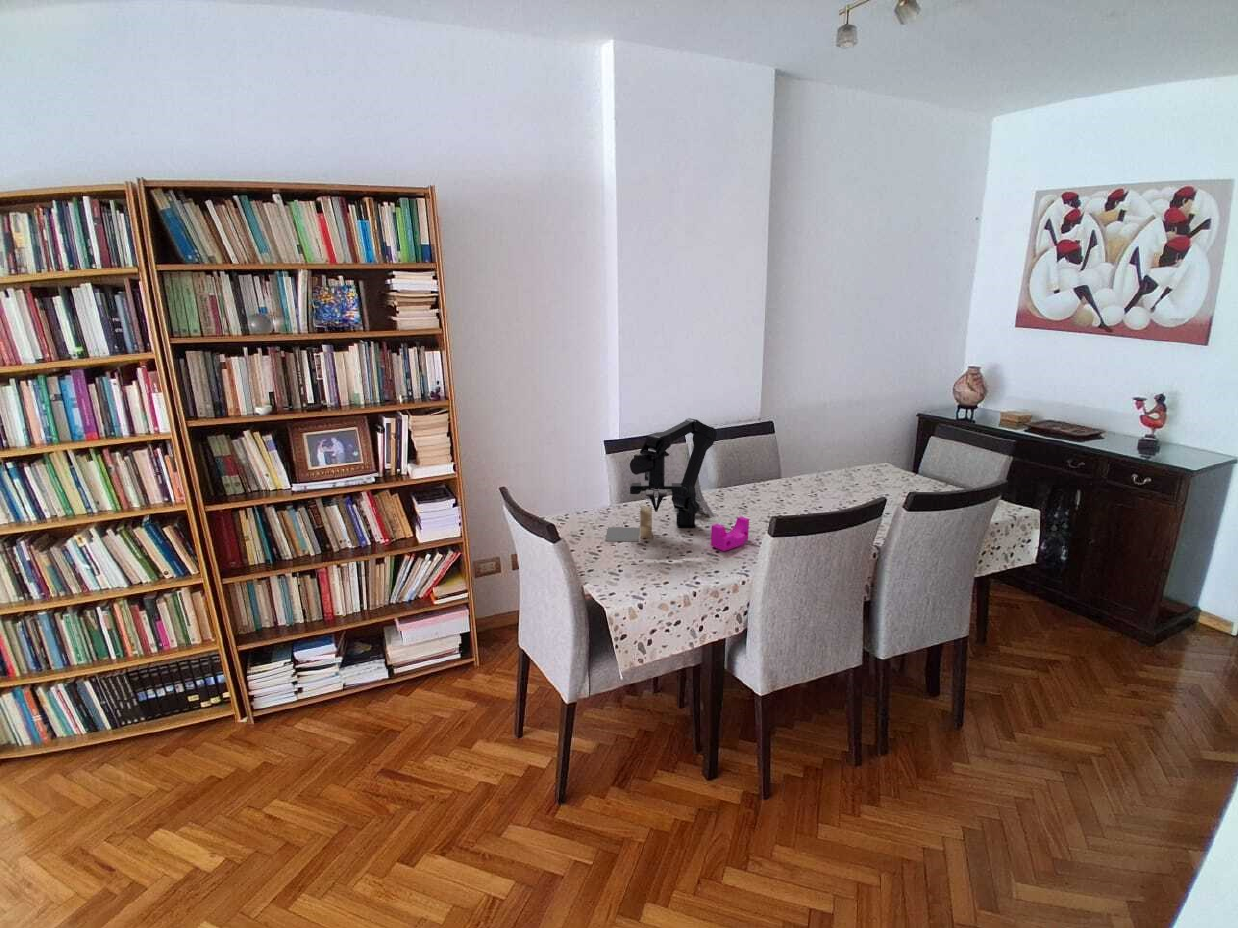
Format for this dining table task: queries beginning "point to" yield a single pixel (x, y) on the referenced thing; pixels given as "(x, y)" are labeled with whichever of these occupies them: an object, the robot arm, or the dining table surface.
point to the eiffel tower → (700, 498)
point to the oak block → (646, 522)
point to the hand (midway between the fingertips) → (656, 511)
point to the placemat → (622, 534)
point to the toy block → (730, 535)
